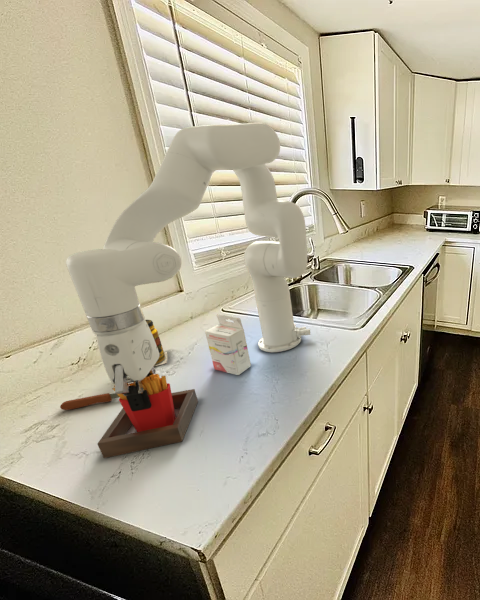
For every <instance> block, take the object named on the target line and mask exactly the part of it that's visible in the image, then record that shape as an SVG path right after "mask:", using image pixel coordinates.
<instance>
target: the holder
mask: <svg viewBox="0 0 480 600" xmlns="http://www.w3.org/2000/svg"><path fill="white" fill-rule="evenodd" d="M171 394H172V399H173V405H174V410H176V409H179V410H178V412H177V414H176V419H175V421H174V423H173V425H170V426H165V427H160V428H155V429H150V430H145V431H140V432H137V431H136V432H131V433H128V431H129V430H130V428H131V426H133V424H132V422H131V420H130V419H129V417H128V415H127V413H126V412H125V410H124V408H123V407H122V408H121V410H120V411H119V412H118V414H117V415H116V417H115V418H114V420H113V421H112V423H110V425H109V427H108V428H107V429H106V431H105V432H104V433H103V435H102V436H101V438H100V439H99V441H98V442H97V446H98V449H99V451H100V453H101V455H102V458H103V459H108V458H112V457H117V456H120V455H126V454H131V453H136V452H140V451H144V450H150V449H153V448H159V447H162V446H163V447H164V446H167V445H173V444H177V443H182V442H183V440H184V438H185V435H186V433H187V430H188V428H189V426H190V423H191V421H192V419H193V415H194V413H195V411H196V408H197V405H198V403H199V400H198V395H197V393H196V389H195V388H192V389H187V390H186V389H185V390H181V391H174V392H171Z"/></svg>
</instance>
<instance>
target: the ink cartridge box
mask: <svg viewBox="0 0 480 600" xmlns="http://www.w3.org/2000/svg"><path fill="white" fill-rule="evenodd" d="M216 317H217V321H218V323H219V324H217V325H215V326H213V327H211V328H208V329H206V330H205V331H204V333H205V338H206V341H207V344H208V350H209V354H210V357H211V361H212V365H213V369H214V370H215V371H218V372H223V373H228V374H231V375H236V376H240V375H241V374H242V373H244V372H245V371H247V370H248V369H250V367H252V364H251V363H252V362H251V359H250V353H249V349H248V343H247V339H246V335H245V334H246V333H245V329H244V327H243V324H242V320H241V318H240V317H236V316H231V315H225V314H219V313H217V314H216ZM227 320H230V321H227Z"/></svg>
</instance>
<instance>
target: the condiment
mask: <svg viewBox="0 0 480 600" xmlns="http://www.w3.org/2000/svg"><path fill="white" fill-rule="evenodd" d="M145 321H146V322H147V324H148V326H149V328H150V330H151V333H152V335H153V338H154V340H155V343H156V345H157V348H158V351H159V359H158V360H157V362H156V363H155V365H154V366H153V367H154V368H155V367H158V366H160V365H165V364H167V363H168V351H164V348H163V345H162V341H161V338H160V335H159V331H158V329H157V328H156V327H155V325H154V322H153V320H151V319H145Z"/></svg>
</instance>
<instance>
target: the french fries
mask: <svg viewBox="0 0 480 600" xmlns="http://www.w3.org/2000/svg"><path fill="white" fill-rule="evenodd" d="M150 378H151V380H150ZM141 381H142V385H143V390H147V393H148V396H149V399H150V402H151V405H152V406H151V408H149V409H144V410H139V411H131V408H130V406H129V403H128V400H127V398H126V396H124V395H123V394H117V395H118V396H119V399H118V401H119V404H120V405H121V407H122V408H124V410H125V412H126V413H127V415H128V417H129V419H130V420H131V422H132V426H133V427H134V430H135V431H136V432H140V431H145V430H150V429H155V428H160V427H165V426H170V425H173V423H174V421H175V419H176V417H177V415H176V412H175V409H174V405H173V399H172V394H171V393H172V388H171V384H170V383H168V382H167V376H166V375H162V376H160V374H159V373H155V374H153V375H150V377H145V379H143V380H141ZM132 385H133V386H136V384H135V382H130V383H128V386H132ZM112 390H113V392H115V384H113V388H112Z"/></svg>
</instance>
